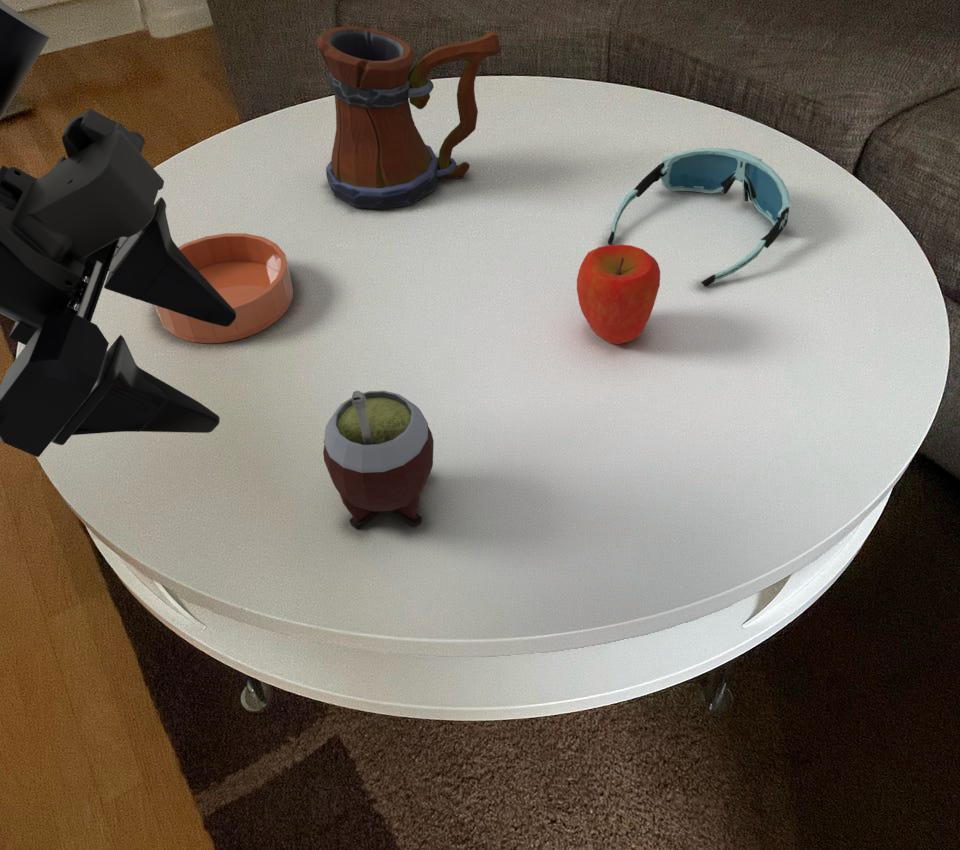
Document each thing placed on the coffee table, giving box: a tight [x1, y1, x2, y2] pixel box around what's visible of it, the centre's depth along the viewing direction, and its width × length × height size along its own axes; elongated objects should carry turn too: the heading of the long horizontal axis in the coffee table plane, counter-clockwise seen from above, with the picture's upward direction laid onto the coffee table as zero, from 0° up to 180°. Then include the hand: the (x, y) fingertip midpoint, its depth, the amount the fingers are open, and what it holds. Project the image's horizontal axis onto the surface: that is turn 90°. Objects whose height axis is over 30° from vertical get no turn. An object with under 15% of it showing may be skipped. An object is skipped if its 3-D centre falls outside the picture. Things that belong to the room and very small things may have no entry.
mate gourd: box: [322, 390, 435, 530], centre depth 57 cm, size 8×8×15 cm
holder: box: [153, 232, 294, 344], centre depth 78 cm, size 12×12×3 cm
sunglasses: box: [607, 147, 792, 287], centre depth 83 cm, size 14×15×5 cm
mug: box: [315, 25, 502, 210], centre depth 88 cm, size 18×12×15 cm, turn 93°
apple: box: [576, 244, 661, 345], centre depth 72 cm, size 6×6×8 cm
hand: (225, 369), depth 52 cm, fingers open, 9 cm apart
